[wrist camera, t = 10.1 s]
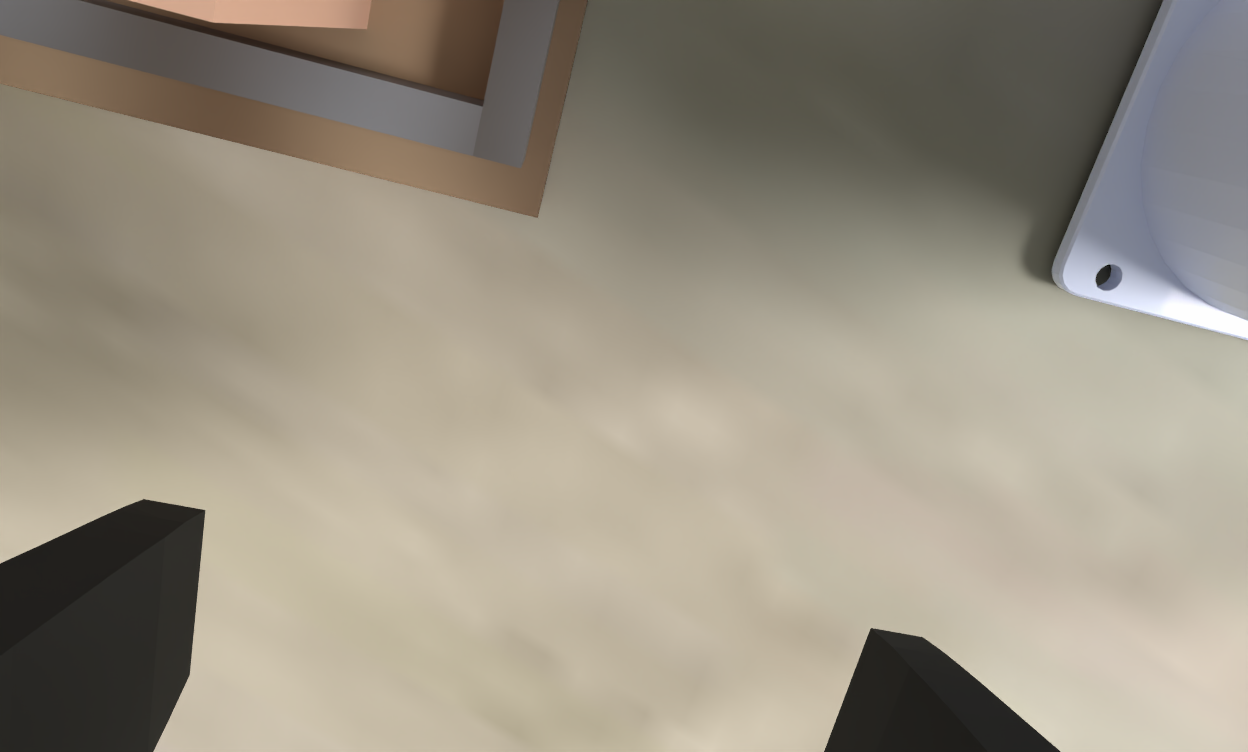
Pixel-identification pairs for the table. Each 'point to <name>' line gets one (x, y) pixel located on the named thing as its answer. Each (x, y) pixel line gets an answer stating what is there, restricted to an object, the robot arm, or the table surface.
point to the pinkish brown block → (273, 11)
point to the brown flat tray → (327, 83)
